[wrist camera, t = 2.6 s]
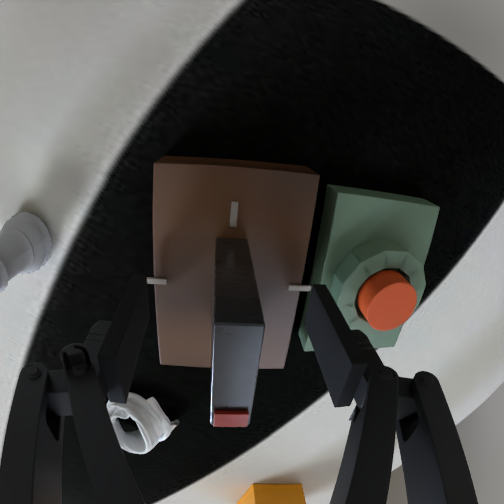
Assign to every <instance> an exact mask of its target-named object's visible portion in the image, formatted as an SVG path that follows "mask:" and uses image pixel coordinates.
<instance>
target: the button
mask: <svg viewBox="0 0 504 504" xmlns="http://www.w3.org/2000/svg"><path fill="white" fill-rule="evenodd" d="M416 302H417V294H416V291H415V289H414V287H413V286H412V285H411V284H410V283H409V282H408V281H407V280H406V279H405V278H404V277H403V276H402V275H401V274H400V273H399V272H397V271H394V270H382V271H379V272H377V273H375V274H373V275H372V276H370V277H369V278H368V279H367V280H366V281H365V282H364V284H363V285H362V287H361V289H360V291H359V294H358V306H359V308H360V310H361V312H362V313H363V315H364V316H365V318H366V320H367V321H368V323H369V324H370V325H371V327H373V328H374V329H376V330H380V331H387V330H391V329H394V328H396V327H398V326H400V325H401V324H403V323H404V322H405V321H406V320H407V319H408V318H409V317H410V316H411V314H412V313H413V311H414V309H415V306H416Z"/></svg>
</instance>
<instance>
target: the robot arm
mask: <svg viewBox="0 0 504 504" xmlns="http://www.w3.org/2000/svg"><path fill="white" fill-rule="evenodd" d="M149 318H150V316H149V303H148V288H147V276H142V275H133V277H132V279H131V281H130V283H129V285H128V287H127V289H126V291H125V294H124V296H123V298H122V300H121V302H120V304H119V306H118V309H117V311H116V313H115V315H114V318H113V320H112V321H103V320H99V321H98V322H97V323H96V324H94V325H93V326H92V328H91V330H90V332H89V334H88V336H87V338H86V340H85V342H84V344H80V343H73V344H70V345H67V346H66V347H64V348H63V349H62V350H61V352H60V359H61V362H62V365H63V368H64V369H62V370H53V371H48V370H47V368H46V366H45V365H43V364H42V363H38V362H34V363H30V364H28V365H26V366H25V367H23V368H22V370H21V372H20V375H19V379H18V383H17V386H16V390H15V394H14V398H13V402H12V406H11V411H10V415H9V420H8V425H7V430H6V435H5V441H4V446H3V453H2V459H1V466H0V504H62V498H61V469H62V443H63V428H64V416H66V415H73V418H74V422H75V427H76V431H77V435H78V439H79V443H80V446H81V450H82V454H83V457H84V460H85V464H86V467H87V470H88V474H89V477H90V480H91V483H92V486H93V489H94V492H95V494H96V497H97V500H98V503H99V504H145V502H144V500H143V498H142V496H141V494H140V492H139V489H138V487H137V485H136V483H135V480H134V478H133V476H132V474H131V471H130V469H129V466H128V464H127V462H126V459H125V457H124V454H123V452H122V449H121V446H120V444H119V441H118V438H117V436H116V433H115V430H114V427H113V424H112V422H111V419H110V416H109V413H108V410H107V406H106V403H105V400H106V397H107V395H108V398H109V401H110V402H115V403H122V404H126V403H127V399H128V395H129V391H130V387H131V383H132V379H133V375H134V371H135V367H136V364H137V360H138V356H139V353H140V349H141V345H142V342H143V338H144V335H145V331H146V328H147V325H148V321H149ZM304 325H305V327H306V330H307V333H308V335H309V338H310V341H311V344H312V346H313V349H314V352H315V354H316V357H317V360H318V363H319V365H320V368H321V371H322V374H323V376H324V379H325V382H326V385H327V388H328V390H329V393H330V396H331V399H332V402H333V404H334V407H344V406H350V404H351V402H352V400H353V398H354V399H355V401H356V404H357V405H356V407H355V409H354V411H353V413H352V415H351V417H350V419H349V420H352V421H351V426H350V430H349V435H348V439H347V443H346V447H345V451H344V455H343V459H342V463H341V466H340V470H339V474H338V477H337V481H336V484H335V488H334V491H333V494H332V498H331V501H330V504H386V501H387V495H388V489H389V483H390V476H391V470H392V462H393V454H394V445H395V434H396V433H397V438H398V443H399V449H400V454H401V460H402V466H403V472H404V478H405V485H406V492H407V499H408V504H478V502H477V498H476V494H475V490H474V486H473V482H472V479H471V475H470V471H469V468H468V464H467V461H466V457H465V454H464V451H463V448H462V445H461V442H460V438H459V435H458V432H457V429H456V427H455V424H454V421H453V418H452V415H451V412H450V410H449V407H448V404H447V401H446V399H445V396H444V393H443V391H442V388H441V386H440V383H439V381H438V379H437V378H436V377H435V376H434V375H433V374H431V373H429V372H425V371H421V372H418V373H416V374H415V376H414V378H413V379H411V378H403V377H398V374H397V373H396V371H394V370H393V369H392V368H389V367H387V366H384V365H383V363H382V361H381V359H380V358H379V356H378V354H377V352H376V351H375V349H374V347H373V346H372V344H371V343H370V340H369V339H368V337H367V335H366V334H364V333H363V332H362V331H361V330H360V329H355V330H351V329H350V327H349V326H348V324H347V322H346V320H345V318H344V316H343V315H342V313H341V311H340V309H339V307H338V306H337V304H336V302H335V300H334V298H333V297H332V295H331V293H330V291H329V290H328V288H327V286H326V284H313V286H312V290H311V295H310V300H309V304H308V309H307V313H306V318H305V322H304Z"/></svg>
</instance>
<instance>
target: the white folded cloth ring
mask: <svg viewBox="0 0 504 504" xmlns="http://www.w3.org/2000/svg"><path fill="white" fill-rule="evenodd" d="M107 410H108V413H109V416H110V419H111V422H112V424H113V427H114V430H115V433H116V436H117V438H118V441H119V444H120V446H121V448H123V449H124V450H126V451H128V452H131V453H136V454H145V453H147V452H149V451H150V450H151V449H152V448H154V447H155V445H156V444H158V441H163V440H165V439H166V438H167V437H168V436H169V435H170V433H171V431H172V430H173V429H174V428H175V427H176V426H177V425H178V424H179V420H175V421H172V422H170V420H169V418H168V417H167V416H166V415H165V413H164V412H163V411H162V409H161V407H160V406H159V404H158V402H157V401H156V399H155V398H154V397H151V398H149V399H147V400H145V399H144V398H143V397H141V396H140V395H138V394H135V393H131V392H129V395H128V399H127V403H126V404H122V403H115V402H110V401H109V400H108V403H107ZM129 416H130V417H131V418H132V419H133V420H134V421H136V423H137V425H138V427H139V430H137V431H133V432H124V431H123V429H122V428H121V426H120V423H119V421H118V419H117V417H119V418H122V419H128V418H129Z"/></svg>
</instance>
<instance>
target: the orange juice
mask: <svg viewBox="0 0 504 504" xmlns="http://www.w3.org/2000/svg"><path fill="white" fill-rule="evenodd" d="M237 504H306V502H305V497H304V492H303V488H302V484H252V486H251V487H250V488H249V489H248V490H247V492H246V493H245V494H244V495H243V496H242V498H241V499H240V500H239V501H238V502H237Z"/></svg>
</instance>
